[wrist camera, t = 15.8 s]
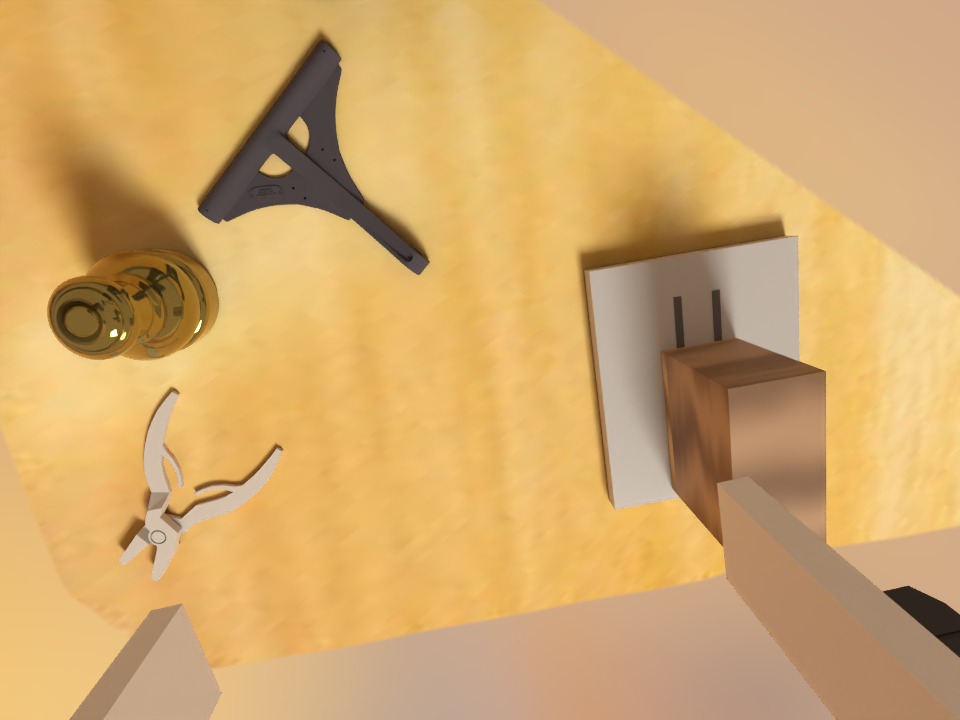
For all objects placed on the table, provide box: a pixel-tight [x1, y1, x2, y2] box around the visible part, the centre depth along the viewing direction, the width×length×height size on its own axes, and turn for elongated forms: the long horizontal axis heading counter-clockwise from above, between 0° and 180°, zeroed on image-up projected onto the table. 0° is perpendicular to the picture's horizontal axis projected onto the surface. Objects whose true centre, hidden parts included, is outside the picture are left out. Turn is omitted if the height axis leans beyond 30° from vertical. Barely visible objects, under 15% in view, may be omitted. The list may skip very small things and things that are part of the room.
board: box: [584, 236, 799, 510], centre depth 43 cm, size 20×16×2 cm
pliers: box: [119, 391, 283, 581], centre depth 43 cm, size 10×2×15 cm
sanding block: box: [661, 338, 826, 546], centre depth 38 cm, size 12×6×10 cm, turn 9°
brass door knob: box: [47, 249, 219, 360], centre depth 34 cm, size 7×8×10 cm
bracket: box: [198, 40, 430, 275], centre depth 38 cm, size 14×15×3 cm
